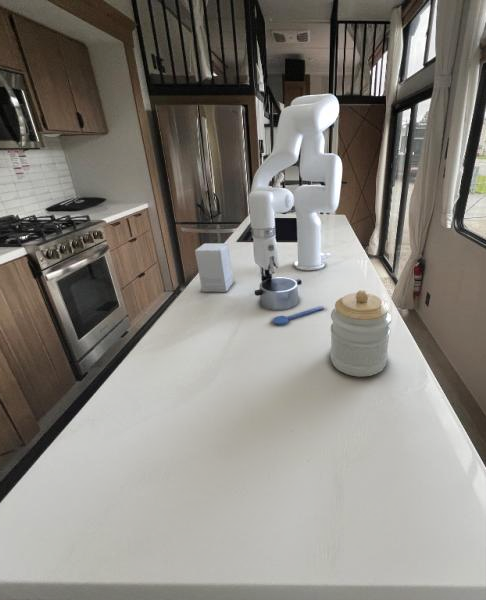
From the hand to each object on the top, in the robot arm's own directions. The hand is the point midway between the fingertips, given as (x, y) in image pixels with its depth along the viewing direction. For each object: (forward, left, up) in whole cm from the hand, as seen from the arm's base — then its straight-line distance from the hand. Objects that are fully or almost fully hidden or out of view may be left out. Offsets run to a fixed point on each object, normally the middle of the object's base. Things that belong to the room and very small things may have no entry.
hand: (267, 286), depth 109 cm
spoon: (0, +20, -3) cm, 20 cm away
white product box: (+12, -15, -3) cm, 19 cm away
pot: (0, +8, -3) cm, 9 cm away
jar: (-1, +46, -3) cm, 46 cm away
